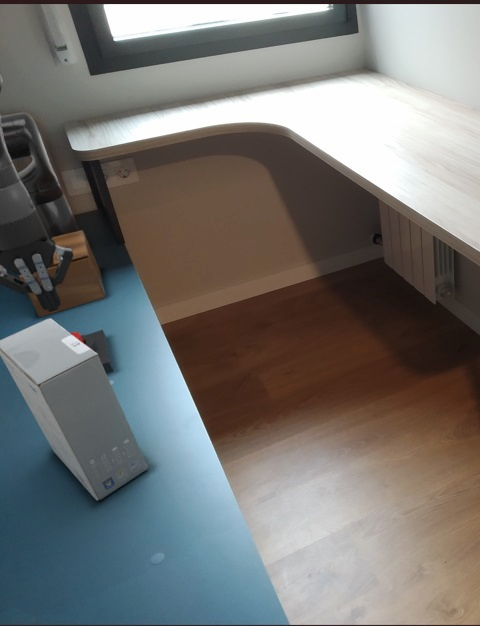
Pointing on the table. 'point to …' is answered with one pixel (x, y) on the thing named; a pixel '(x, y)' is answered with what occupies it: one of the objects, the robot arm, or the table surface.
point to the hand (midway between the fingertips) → (53, 308)
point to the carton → (75, 283)
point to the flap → (72, 244)
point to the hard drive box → (74, 405)
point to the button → (77, 336)
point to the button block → (99, 348)
